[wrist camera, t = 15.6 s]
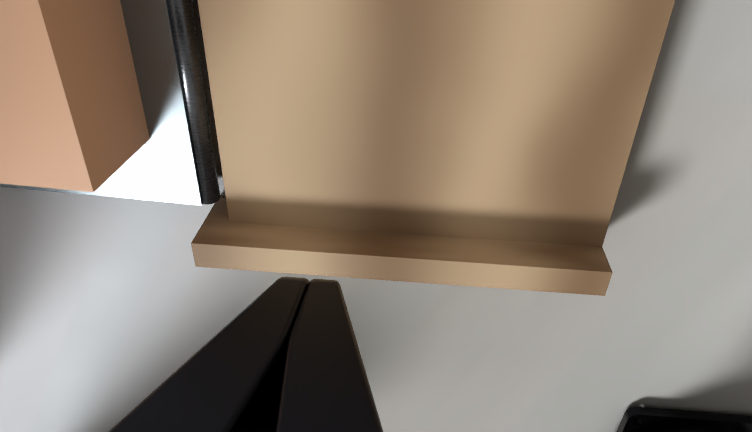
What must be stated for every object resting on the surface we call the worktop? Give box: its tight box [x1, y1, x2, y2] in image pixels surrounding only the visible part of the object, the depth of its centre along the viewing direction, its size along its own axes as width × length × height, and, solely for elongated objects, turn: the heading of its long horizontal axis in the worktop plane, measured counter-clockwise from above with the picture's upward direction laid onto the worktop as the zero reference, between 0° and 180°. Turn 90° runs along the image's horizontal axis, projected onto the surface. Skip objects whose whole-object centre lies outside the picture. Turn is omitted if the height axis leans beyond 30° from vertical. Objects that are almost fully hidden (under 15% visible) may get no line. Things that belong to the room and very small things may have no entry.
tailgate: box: [0, 0, 220, 205], centre depth 18 cm, size 10×11×1 cm
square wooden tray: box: [191, 0, 675, 296], centre depth 17 cm, size 14×14×3 cm
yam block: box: [0, 0, 150, 192], centre depth 17 cm, size 6×6×4 cm
